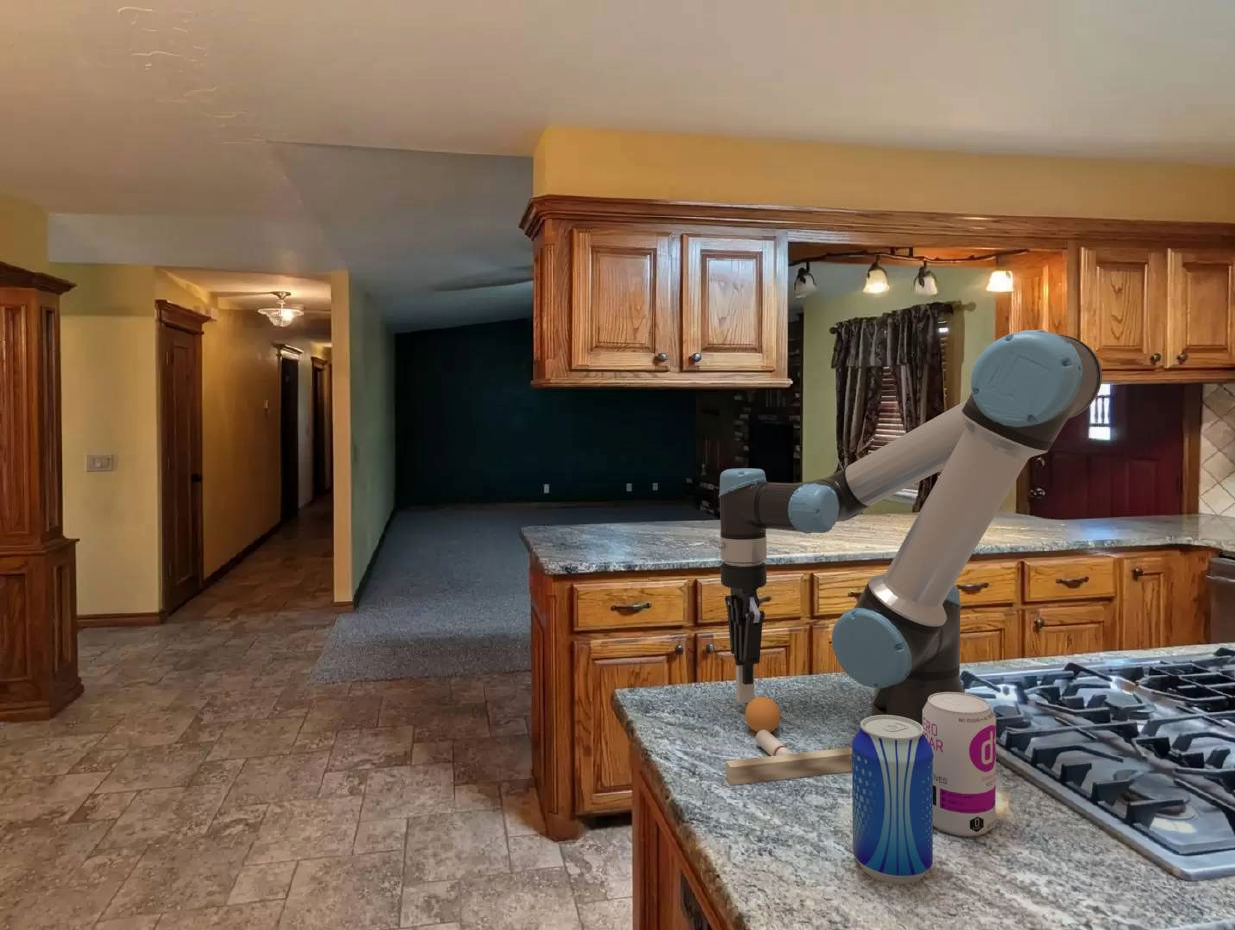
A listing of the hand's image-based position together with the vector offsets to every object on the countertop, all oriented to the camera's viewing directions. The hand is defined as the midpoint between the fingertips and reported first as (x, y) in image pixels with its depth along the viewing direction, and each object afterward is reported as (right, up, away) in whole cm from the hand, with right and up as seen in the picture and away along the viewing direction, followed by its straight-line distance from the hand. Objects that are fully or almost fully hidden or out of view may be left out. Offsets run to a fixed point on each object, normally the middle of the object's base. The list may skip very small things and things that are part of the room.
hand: (745, 700), depth 138 cm
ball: (+1, 0, -9) cm, 9 cm away
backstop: (+5, -3, -23) cm, 24 cm away
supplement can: (+20, -4, -38) cm, 43 cm away
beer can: (+9, -5, -47) cm, 48 cm away
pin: (+1, -2, -14) cm, 14 cm away
